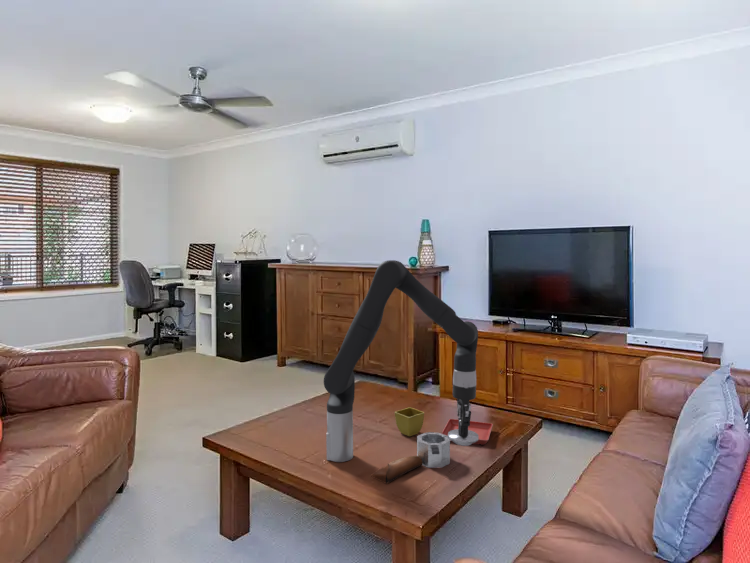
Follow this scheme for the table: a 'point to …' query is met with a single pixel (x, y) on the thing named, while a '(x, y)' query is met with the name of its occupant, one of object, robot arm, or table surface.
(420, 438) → the pot
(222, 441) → the table surface
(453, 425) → the plant saucer
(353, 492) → the table surface
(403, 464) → the sunglasses case
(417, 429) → the flower pot
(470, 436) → the lid
